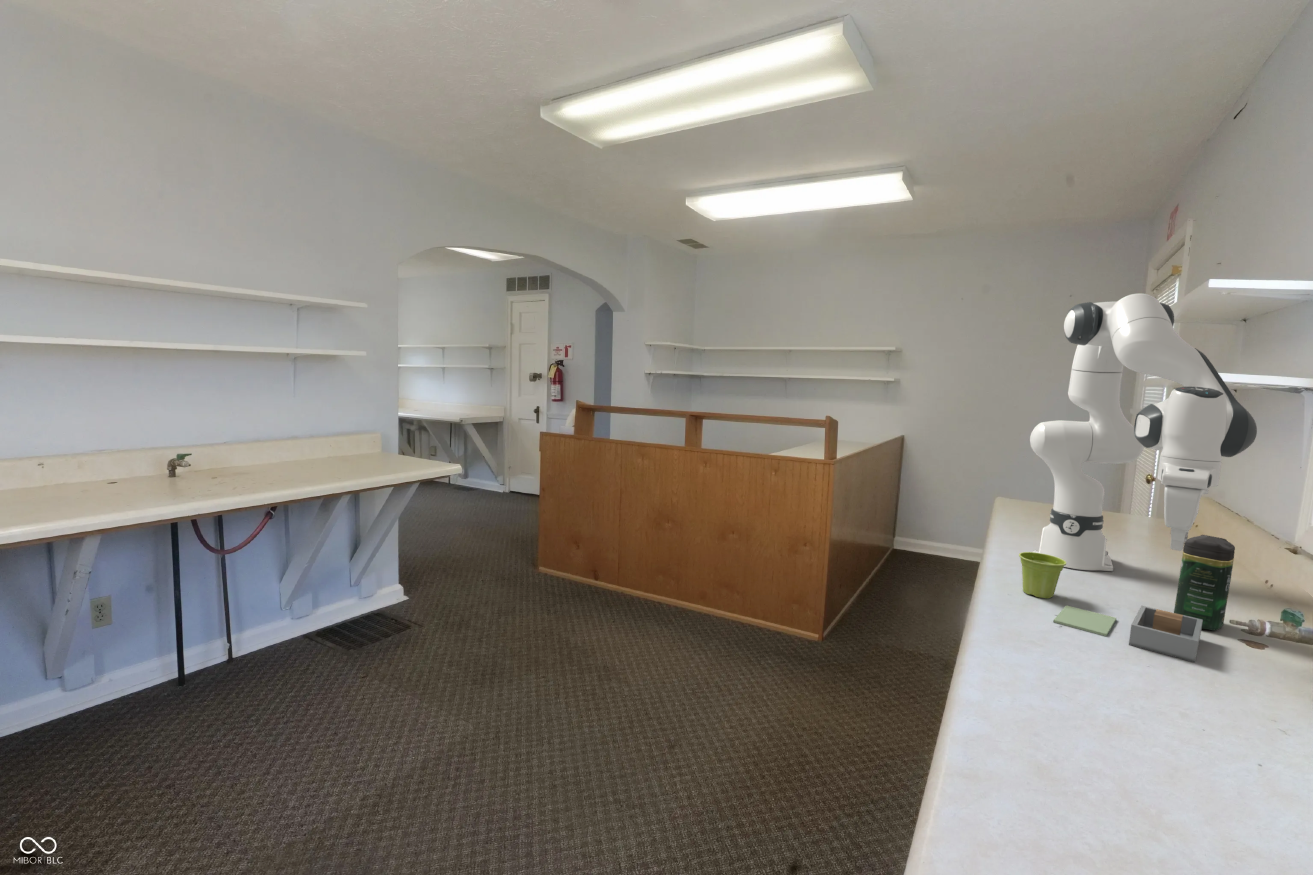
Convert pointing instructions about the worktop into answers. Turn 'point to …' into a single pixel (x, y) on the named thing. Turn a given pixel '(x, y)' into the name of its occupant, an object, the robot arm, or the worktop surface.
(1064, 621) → the olive mat
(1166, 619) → the walnut block
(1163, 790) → the worktop surface
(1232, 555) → the coffee jar
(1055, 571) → the plant pot
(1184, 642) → the grey bin
